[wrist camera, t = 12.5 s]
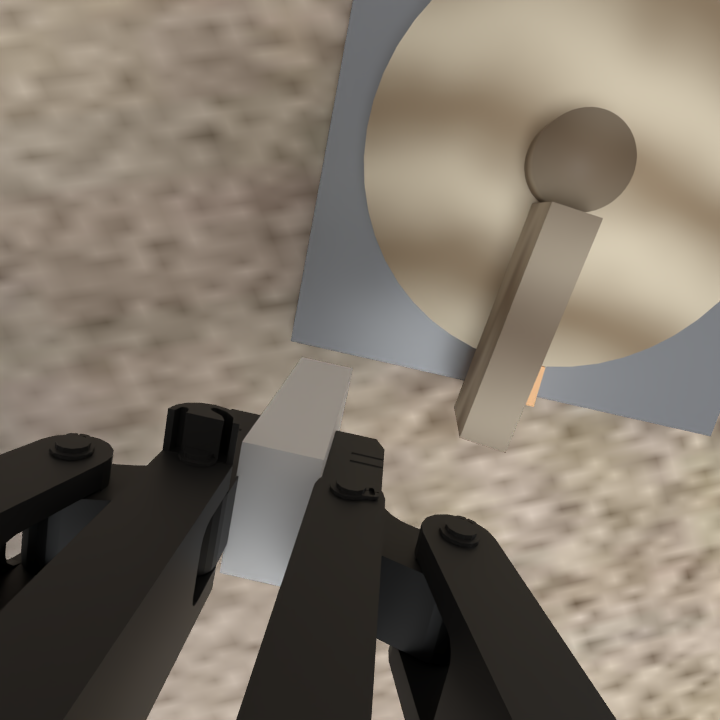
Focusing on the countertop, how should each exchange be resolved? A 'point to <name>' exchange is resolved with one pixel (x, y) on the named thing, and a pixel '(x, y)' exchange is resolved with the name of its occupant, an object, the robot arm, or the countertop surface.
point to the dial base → (408, 322)
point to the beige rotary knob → (549, 183)
